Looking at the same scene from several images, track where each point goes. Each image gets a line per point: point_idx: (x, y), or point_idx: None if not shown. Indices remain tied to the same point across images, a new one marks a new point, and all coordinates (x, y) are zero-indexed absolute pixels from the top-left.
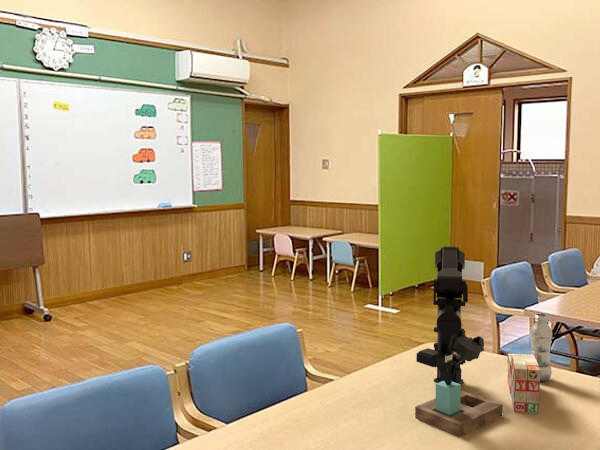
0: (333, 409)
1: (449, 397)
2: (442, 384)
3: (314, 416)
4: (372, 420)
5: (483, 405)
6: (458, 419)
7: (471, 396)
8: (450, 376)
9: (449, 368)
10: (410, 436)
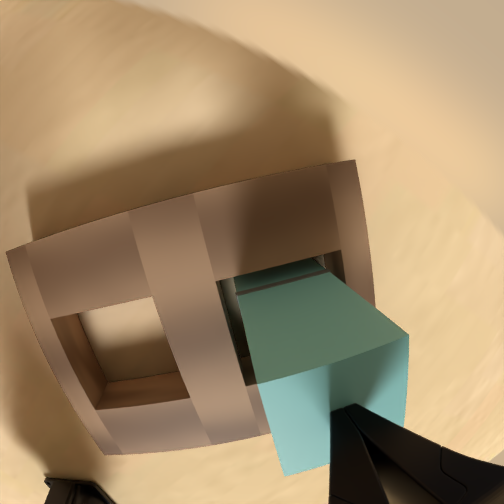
0: (458, 446)
1: (374, 309)
2: None
3: (497, 420)
4: (454, 386)
5: (82, 290)
6: (321, 212)
7: (83, 389)
8: (394, 442)
9: (489, 478)
10: (458, 258)
